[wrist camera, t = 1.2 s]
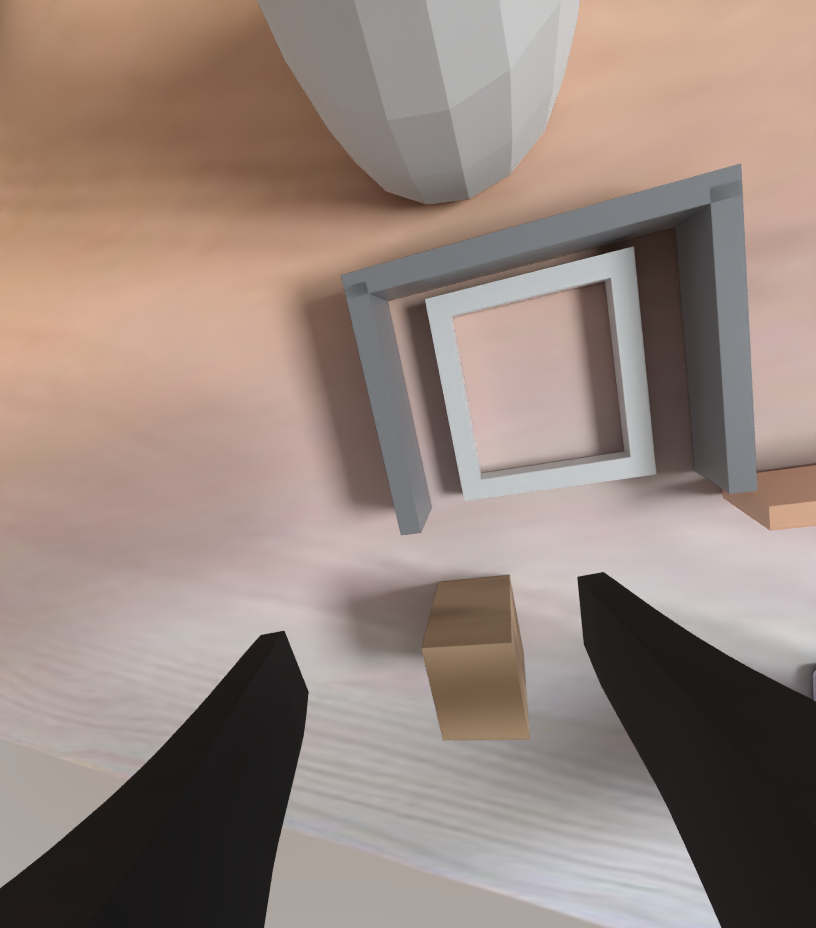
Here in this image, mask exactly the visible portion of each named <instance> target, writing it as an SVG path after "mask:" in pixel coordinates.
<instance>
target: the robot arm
mask: <svg viewBox="0 0 816 928" xmlns="http://www.w3.org/2000/svg"><path fill="white" fill-rule="evenodd" d="M577 578H578V589H579V599H580V609H581V620H582V630H583V640H584V646H585V648H586V651H587V653H588V655H589V658H590V660H591V663H592V665H593V668H594V670H595V672H596V675H597V677H598V679H599V682H600V684H601V686H602V688H603V690H604V692H605V694H606V695H607V697H608V699H609V701H610V703H611V705H612V706H613V708H614V710H615V712H616V714H617V715H618V717H619V719H620V721H621V723H622V725H623V726H624V728H625V730H626V732H627V733H628V735H629V737H630V739H631V741H632V742H633V744H634V746H635V748H636V750H637V751H638V753H639V755H640V757H641V759H642V760H643V762H644V764H645V766H646V768H647V769H648V771H649V773H650V775H651V777H652V778H653V780H654V782H655V784H656V786H657V788H658V790H659V791H660V793H661V795H662V797H663V799H664V801H665V803H666V805H667V807H668V809H669V811H670V813H671V816H672V818H673V820H674V822H675V824H676V827H677V829H678V831H679V833H680V835H681V838H682V840H683V842H684V844H685V846H686V849H687V851H688V853H689V855H690V857H691V860H692V862H693V864H694V866H695V868H696V871H697V873H698V875H699V878H700V880H701V882H702V884H703V887H704V889H705V891H706V893H707V896H708V898H709V900H710V903H711V905H712V907H713V909H714V912H715V914H716V916H717V918H718V921H719V923H720V925H721V928H816V670H815V672H814V674H813V696H814V700H812V699H810V698H808V697H806V696H804V695H802V694H800V693H798V692H796V691H794V690H792V689H790V688H788V687H786V686H784V685H782V684H780V683H778V682H776V681H774V680H772V679H770V678H769V677H767V676H765V675H763V674H761V673H759V672H757V671H755V670H753V669H751V668H749V667H748V666H746V665H744V664H742V663H740V662H739V661H737V660H735V659H733V658H732V657H730V656H728V655H726V654H725V653H723V652H721V651H720V650H718V649H716V648H715V647H713V646H711V645H710V644H708V643H706V642H705V641H703V640H701V639H700V638H698V637H697V636H695V635H693V634H692V633H690V632H689V631H687V630H686V629H684V628H683V627H681V626H680V625H678V624H677V623H675V622H674V621H672V620H671V619H669V618H668V617H666V616H665V615H663V614H662V613H660V612H659V611H657V610H656V609H655V608H653V607H652V606H650V605H649V604H647V603H646V602H645V601H643V600H642V599H640V598H639V597H638V596H636V595H635V594H633V593H632V592H631V591H629V590H628V589H627V588H625V587H624V586H622V585H621V584H620V583H618V582H617V581H615V580H614V579H613V578H611V577H610V576H608V575H607V574H606V573H604V572H601V573H596V574H590V575H585V576H579V577H577ZM308 693H309V692H308V689H307V687H306V684H305V682H304V679H303V677H302V674H301V671H300V669H299V666H298V664H297V661H296V659H295V656H294V654H293V651H292V649H291V646H290V644H289V641H288V639H287V636H286V634H285V631H280V632H275V633H269V634H264V635H260V637H259V638H258V639H257V640H256V641H255V642H254V643H253V644H252V645H251V647H250V648H249V649H248V650H247V651H246V652H245V653H244V655H243V656H242V657H241V658H240V659H239V661H238V662H237V663H236V664H235V665H234V667H233V668H232V669H231V670H230V671H229V672H228V674H227V675H226V676H225V677H224V678H223V679H222V681H221V682H220V683H219V684H218V685H217V686H216V688H215V689H214V690H213V691H212V692H211V693H210V695H209V696H208V697H207V698H206V699H205V700H204V702H203V703H202V704H201V705H200V706H199V707H198V708H197V710H196V711H195V712H194V713H193V714H192V715H191V716H190V717H189V718H188V719H187V720H186V721H185V723H184V724H183V725H182V726H181V727H180V728H179V729H178V730H177V731H176V732H175V733H174V734H173V735H172V737H171V738H170V739H169V740H168V741H167V742H166V743H165V744H164V745H163V746H162V747H161V748H160V749H159V750H158V751H157V752H156V754H155V755H154V756H153V757H152V758H151V759H150V760H149V761H148V762H147V763H146V764H145V765H144V766H143V767H142V768H141V769H140V770H138V771H137V772H136V773H135V774H134V775H133V776H132V777H131V778H130V779H129V780H128V781H127V782H126V783H125V784H124V785H123V786H122V787H121V788H119V790H117V791H116V792H115V793H114V794H113V795H112V796H111V797H110V798H109V799H108V800H107V801H106V802H104V803H103V804H102V805H101V806H100V807H99V808H97V809H96V810H95V811H94V812H93V813H92V814H91V815H89V816H88V817H87V818H86V819H85V820H83V821H82V822H81V823H80V824H79V825H78V826H76V827H75V828H74V829H73V830H72V831H71V832H69V833H68V834H67V835H66V836H65V837H64V838H63V839H61V841H59V842H58V843H57V844H56V845H54V846H53V847H52V848H51V849H50V850H49V851H47V852H46V853H45V854H43V855H42V856H41V857H40V858H38V859H37V860H36V861H35V862H33V863H32V864H31V865H30V866H28V867H27V868H26V869H25V870H23V871H22V872H21V873H20V874H18V875H17V876H16V877H14V878H13V879H12V880H11V881H9V882H8V883H7V884H5V885H4V886H3V887H1V888H0V928H264V925H265V918H266V911H267V905H268V898H269V892H270V885H271V879H272V872H273V866H274V861H275V857H276V852H277V846H278V842H279V837H280V834H281V829H282V825H283V821H284V817H285V813H286V809H287V804H288V800H289V796H290V792H291V788H292V784H293V779H294V775H295V771H296V767H297V762H298V758H299V754H300V750H301V745H302V741H303V736H304V729H305V721H306V713H307V703H308Z"/></svg>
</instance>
